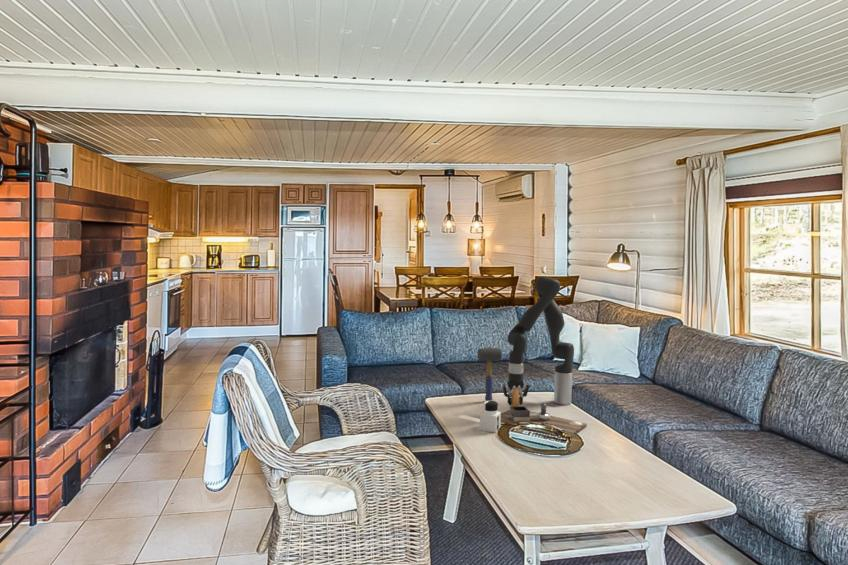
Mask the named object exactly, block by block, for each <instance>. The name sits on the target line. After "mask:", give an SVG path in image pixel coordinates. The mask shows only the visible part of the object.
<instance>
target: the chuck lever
mask: <svg viewBox="0 0 848 565" xmlns="http://www.w3.org/2000/svg"><path fill="white" fill-rule="evenodd" d="M509 410H510V418H511V419H512V420H513V421H514V422H530V420H549V419H550V416H551V414H550V413H548V412H547V403H545V402H542V403H541V405H540V412H536V413H530V411H531V410H530V409H528V408H527V407H526V406H525V405H519V406H512V407H511V406H509Z"/></svg>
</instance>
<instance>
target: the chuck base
mask: <svg viewBox="0 0 848 565" xmlns="http://www.w3.org/2000/svg"><path fill="white" fill-rule="evenodd" d="M529 411H530V413H537V412H535V411H531V410H529ZM530 422H541V423H548V424H551V425H554V426H556V427H559V428H561V429H563V430H564V431H565V432H567V433H568V434H569V436H570V435H572V434H574V433H577V434H578V433H580V432H581V431H583V430H585V429H586V428H587V426H588V425H587V423H585V422H580V421H576V420H571V419H567V418H563V417H559V416H554V415H550V419H549V420H530ZM517 423H519V422H514V421H513V420H512V419H511V418H510V409H508V410H505V411H504V412H501V424H500V426H503V425H505V424H506V425H510V426H515V425H517Z"/></svg>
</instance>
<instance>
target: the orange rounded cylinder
mask: <svg viewBox="0 0 848 565" xmlns="http://www.w3.org/2000/svg"><path fill="white" fill-rule="evenodd" d="M519 397H520V395H519V388H518V387H515V389H514V392H513V394H512V396H511V405H510V407H512V406H520V404H519Z"/></svg>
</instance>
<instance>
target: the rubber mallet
mask: <svg viewBox="0 0 848 565" xmlns="http://www.w3.org/2000/svg"><path fill="white" fill-rule="evenodd" d="M502 357H503V353H502V348H500V347H482V348H478V350H477V360H478V361H479V362H486V376H485V398H484V400H485V401H493V382H494V381H493V375H492V366H493V365H492V364H493V362H500V361H501V360H502V359H503V358H502Z"/></svg>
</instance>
